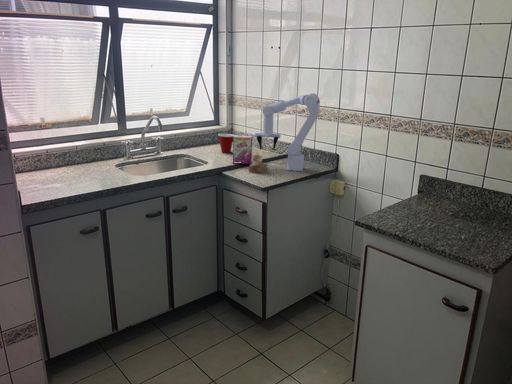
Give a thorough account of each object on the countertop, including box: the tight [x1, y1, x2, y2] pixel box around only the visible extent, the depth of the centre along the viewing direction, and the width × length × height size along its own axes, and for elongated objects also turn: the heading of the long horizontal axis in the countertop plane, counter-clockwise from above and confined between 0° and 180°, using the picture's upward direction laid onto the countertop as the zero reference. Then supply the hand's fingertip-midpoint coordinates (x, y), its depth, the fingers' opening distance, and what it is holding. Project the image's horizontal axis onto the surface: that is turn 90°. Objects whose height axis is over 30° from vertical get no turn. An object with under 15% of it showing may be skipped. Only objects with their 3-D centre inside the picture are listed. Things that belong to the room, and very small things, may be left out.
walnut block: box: [248, 162, 268, 174], centre depth 235 cm, size 8×8×4 cm
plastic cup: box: [217, 133, 235, 154], centre depth 271 cm, size 11×11×12 cm
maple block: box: [251, 152, 263, 166], centre depth 234 cm, size 5×5×6 cm
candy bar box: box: [232, 134, 254, 165], centre depth 247 cm, size 11×5×16 cm, turn 84°
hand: (267, 149), depth 242 cm, fingers open, 7 cm apart
